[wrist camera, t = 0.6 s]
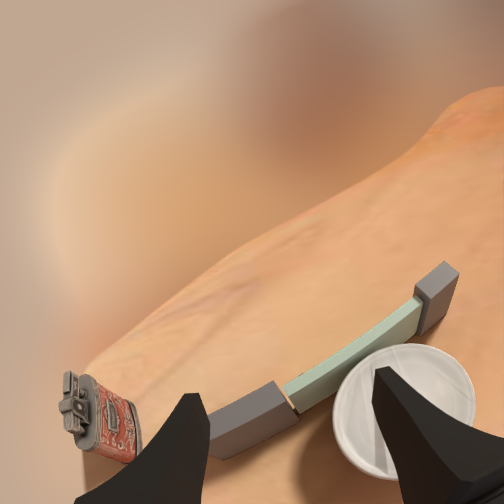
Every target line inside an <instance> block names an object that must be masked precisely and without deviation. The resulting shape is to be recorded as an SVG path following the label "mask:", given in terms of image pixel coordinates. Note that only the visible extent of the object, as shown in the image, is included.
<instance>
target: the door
mask: <svg viewBox="0 0 504 504" xmlns="http://www.w3.org/2000/svg"><path fill="white" fill-rule="evenodd" d="M422 306H423V301H422V300H421V299H420V298H419V297H417V296H416V295H415V296H414V297H412V298H411V299H410V300H409V301H407V302H406V303H405V304H403V305H402V306H401V307H400V308H398V309H397V310H396V311H394V312H393V313H392V314H390V315H389V316H388V317H386V318H385V319H384V320H382V321H381V322H380V323H378V324H377V325H376V326H374V327H373V328H371V329H370V330H369V331H367V332H366V333H364V334H363V335H362V336H360V337H359V338H357V339H356V340H354V341H353V342H351V343H350V344H349V345H347V346H346V347H344V348H343V349H341V350H340V351H338V352H337V353H335V354H334V355H332V356H331V357H329V358H327V359H326V360H324V361H323V362H321V363H320V364H318V365H317V366H315V367H313V368H312V369H310V370H309V371H307V372H305V373H303V374H301V375H299V376H298V377H297V378H295V379H294V380H292V381H290V382H289V383H287V384H285V385H284V386H282V388H283V389H284V391H285V392H286V394H287V396H288V397H289V399H290V400H291V402H292V403H293V405H294V406H295V408H296V409H297V411H298V412H299V414H301V413H303V412H304V411H306V410H308V409H309V408H311V407H313V406H314V405H316V404H318V403H319V402H321V401H322V400H324V399H326V398H327V397H329V396H330V395H332V394H333V393H335V392H336V391H338V390H339V387H340V386H341V384H342V382H343V380H344V379H345V377H346V376H347V375H348V373H349V372H350V371H351V370H352V369H353V368H354V367H355V366H356V365H357V364H358V363H359V362H360V361H362V360H363V359H364V358H366V357H367V356H369V355H370V354H372V353H374V352H376V351H378V350H381V349H383V348H386V347H390V346H393V345H399V344H403V343H404V342H406V341H407V340H408V339H409V338H411V337H412V336H413V335H414V334H415V333H416V330H417V326H418V322H419V318H420V314H421V310H422Z"/></svg>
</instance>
